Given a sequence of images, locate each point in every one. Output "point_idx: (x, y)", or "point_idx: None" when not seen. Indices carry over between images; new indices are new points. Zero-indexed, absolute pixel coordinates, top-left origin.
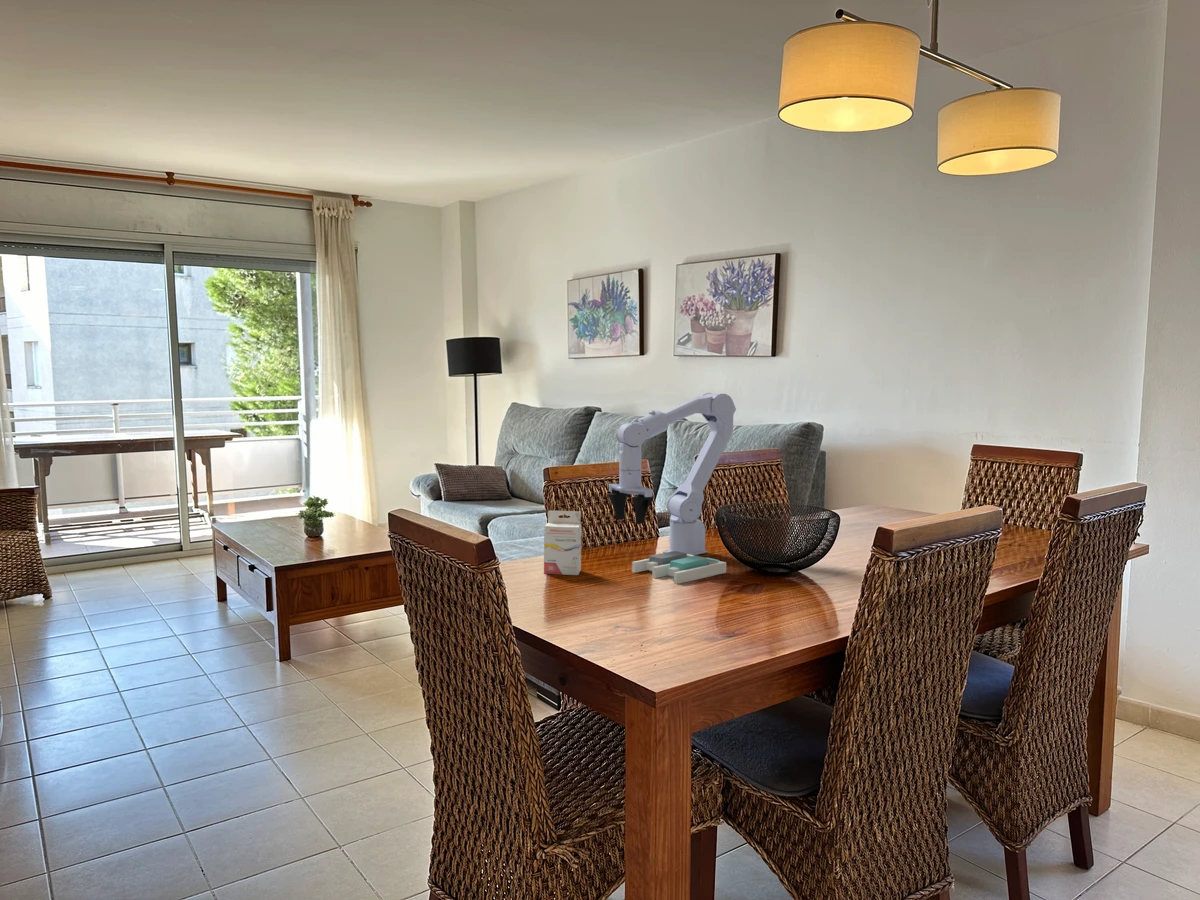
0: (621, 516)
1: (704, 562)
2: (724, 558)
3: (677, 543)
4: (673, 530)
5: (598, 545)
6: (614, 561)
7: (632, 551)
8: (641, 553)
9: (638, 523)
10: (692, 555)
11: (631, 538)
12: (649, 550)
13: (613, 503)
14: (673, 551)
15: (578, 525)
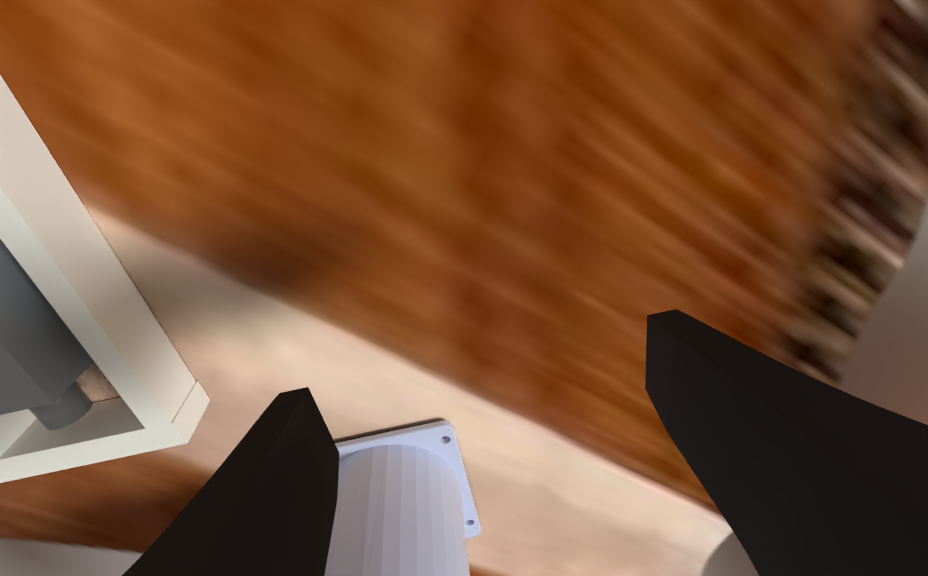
0: (665, 389)
1: None
2: None
3: (345, 503)
4: (368, 571)
5: (844, 221)
6: (377, 48)
7: (576, 313)
8: (503, 330)
9: (273, 402)
10: (70, 460)
11: None
12: (542, 394)
13: (904, 453)
14: (29, 387)
15: None
